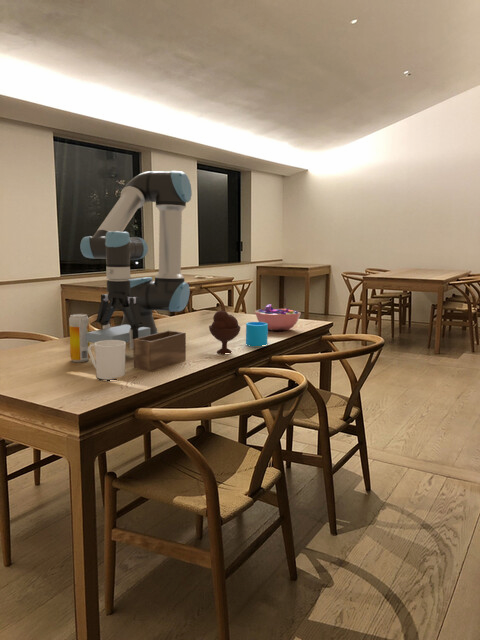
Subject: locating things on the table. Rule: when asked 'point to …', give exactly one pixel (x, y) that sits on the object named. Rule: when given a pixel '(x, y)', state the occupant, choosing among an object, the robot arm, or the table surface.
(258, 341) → the mug
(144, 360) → the box
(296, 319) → the cell model
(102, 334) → the lid
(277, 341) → the table surface
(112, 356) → the mug
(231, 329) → the ice cream bowl
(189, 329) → the table surface
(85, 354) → the beer can
